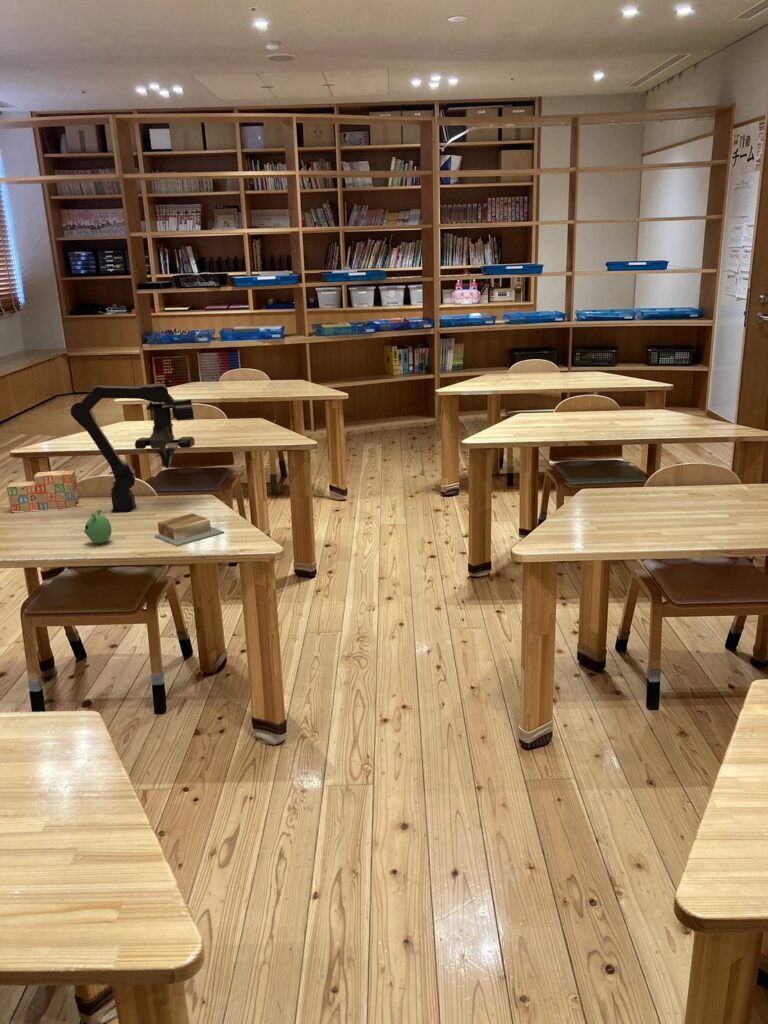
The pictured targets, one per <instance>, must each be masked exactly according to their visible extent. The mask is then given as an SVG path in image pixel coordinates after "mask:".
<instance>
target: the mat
mask: <svg viewBox="0 0 768 1024" xmlns="http://www.w3.org/2000/svg"><path fill="white" fill-rule="evenodd" d="M222 533H223V534H225V531H224V530H220V529H219V528H216V527H214V526H213V527H212V526H211V531H207V532H204V533H200V534H197V535H193V536H189V537H186V538H182V539H178V540H174V539H172V538H169V537H167V536H164V535H162V534H159V533H158V534H156V535H154V538H156V539H158V540H160V539H161V540H160V541H163V542H165V541H166V542H165V543H168V544H170V543H171V544H170V545H172V544H174V545H173V546H175V545H176V546H175V547H180V546H183V545H182V544H184V545H187V544H191V543H193V541H195V542H197V541H201V539H202V540H205V539H208V537H209V538H212V537H215V535H216V536H219V535H223V534H222ZM218 534H219V535H218ZM190 542H191V543H190ZM186 543H187V544H186ZM179 545H180V546H179Z"/></svg>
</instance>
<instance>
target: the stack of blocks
mask: <svg viewBox="0 0 768 1024" xmlns="http://www.w3.org/2000/svg"><path fill="white" fill-rule="evenodd" d="M76 477H77V476H76V470H73V469H72V470H56V471H55V470H54V471H52V470H51V471H42V472H41V471H40V472H36V473H35V475H34V476H33V481H20V482H19V481H17V482H11V483H9V485H8V486H6V490H7V496H8V502H9V504H8V505H9V507H10V513H11V512H12V511H31V510H45V509H58V510H64V509H63V508H70V507H76V506H77V504H78V503H79V504H80V500H79V493H78V483H77V478H76ZM77 507H78V506H77ZM45 511H46V510H45Z"/></svg>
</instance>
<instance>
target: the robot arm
mask: <svg viewBox="0 0 768 1024" xmlns="http://www.w3.org/2000/svg"><path fill="white" fill-rule="evenodd" d="M102 399H130V400H131V399H135V400H137V399H138V400H143V401H147V402H149V404H147V405H146V408H145V410H146V411H150V410H151V412H152V418H153V426H152V433H151V435H150V437H140V438H138V439H136V440H135V441H134V447H135V449H136V450H140V449H141V450H143V449H146V447H150V448H151V449H152V451H153V452H156V453H157V454H158V455H159V457H160V458H161V459H160V460H162V463H163V465H164V466H165V468H166V469H169V468H170V466H171V463H172V459H173V456H174V453H175V451H176V449H178V448H180V449H187V448H188V449H189V448H192V447H193V446H194V445H195V444H196V443H195V438H194V437H193V436H182V437H180V438H178V439H175V435H174V432H173V426H174V423H172V418H173V419H175V420H176V421H177V422H178V421H190V420H191V421H194V419H195V417H194V416H195V415H194V410H193V409H194V408H193V405H192V404H193V402H192V399H191V398H190V399H189V398H188V399H184V400H183V399H181V400H180V399H179V400H175V399H174V397H172V396H171V395H170V393H169V390H168V388H167V386H166V384H163V383H161V382H158V383H156V382H155V383H151V384H144V385H140V386H139V385H138V386H131V385H130V386H129V385H127V386H126V385H102V384H97V385H96V386H94V388H93V390H92V391H90V392H89V393H88V394H87V395H86V396H85V397H84V398H83V399H79V400H77V401H75V402H73V404H72V405H71V407H70V415H71V417H72V418H73V419H74V420H75V421H76V422H77V423H78V424H79V425H80V426H81V427H82V428H83V429H84V430H85V431H86V432H87V433H88V435H89V436H90V438H91V439H92V441H93V442H94V444H95V445H96V446H97V448H98V451H100V453H101V454H102V456H103V457H104V459H105V460H106V462H107V463H108V465H109V466H110V469H111V472H112V475H113V477H114V479H115V481H113V483H112V485H111V489H110V490H111V493H110V498H111V505H112V509H111V510H110V511H111V513H124V512H126V513H129V511H130V512H131V511H133V510H134V509H135V508H137V505H136V497H135V494H133V492H134V491H133V490H130V489H131V488H133V487H134V485H135V482H136V469H134V468H133V467H132V465H131V462H130V461H129V460H128V461H126V462H125V461H123V459H121V457H120V456H119V455H118V452H116V450H115V448H114V447H113V445H112V443H111V442H110V441H109V439H108V438H107V436H106V434H105V433H104V432H103V429H102V428H101V427H100V425H99V424H98V420H97V418H96V416H95V413H94V411H93V408H94V407H95V406H96V405H97V404H98V403H99V402H100V401H101V400H102ZM163 404H165V405H163ZM171 409H172V410H171ZM171 411H172V415H171ZM132 509H133V510H132Z"/></svg>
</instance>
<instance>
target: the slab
mask: <svg viewBox="0 0 768 1024" xmlns="http://www.w3.org/2000/svg"><path fill="white" fill-rule="evenodd" d="M211 527H212V526H211V519H209V518H207V517H205V516H201V515H198V514H195V513H189V514H184V515H181V516H176V517H173V518H169V519H165V520H162V521H158V522H157V529H158V535H159V534H162V535H164V536H167V537H169V538H172V539H174V540H178V539H182V538H186V537H189V536H193V535H197V534H200V533H204V532H207V531H211Z"/></svg>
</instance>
